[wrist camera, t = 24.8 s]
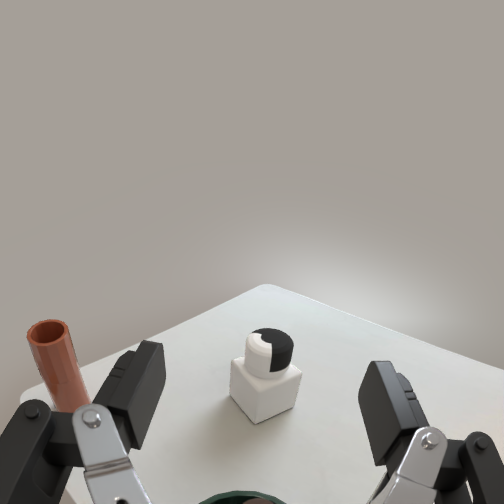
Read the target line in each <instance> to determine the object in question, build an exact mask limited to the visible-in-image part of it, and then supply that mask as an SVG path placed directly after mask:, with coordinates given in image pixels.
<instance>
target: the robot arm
mask: <svg viewBox="0 0 504 504" xmlns="http://www.w3.org/2000/svg"><path fill="white" fill-rule="evenodd" d="M165 380H166V368H165V359H164V350H163V344H162V343H157V342H152V341H146V340H143V341H142V342H141V343H140V345H139V347H138V349H137V350H136V352H135V351H130V350H129V351H127V352H126V353H125V354H123V355H122V356H120V357H119V359H118V360H117V362H116V363H115V365H114V368H112V370H111V372H110V373H109V376H108V377H107V378H106V380H105V382H104V383H103V385H102V387H101V388H100V390H99V392H98V393H97V395H96V397H95V399H94V400H93V402H92V403H91V404H85V405H82V406H80V407H79V408H78V409H76V410H75V412H74V413H67V412H53V411H51V410H50V408H49V406H48V405H47V404H46V403H45V402H43V401H41V400H37V399H32V400H28V401H26V402H24V403H22V404H21V405H20V406H19V408H18V409H17V411H16V412H15V414H14V415H13V417H12V419H11V420H10V422H9V423H8V425H7V426H6V428H5V430H4V431H3V433H2V435H1V436H0V504H59V502H60V499H61V496H62V494H63V491H64V489H65V486H66V483H67V481H68V478H69V476H70V473H71V471H72V468H73V467H85V471H84V478H85V481H86V484H87V487H88V490H89V492H90V495H91V498H92V500H93V503H94V504H152V503H151V501H150V500H149V498H148V496H147V494H146V492H145V490H144V488H143V486H142V484H141V482H140V480H139V478H138V476H137V474H136V472H135V470H134V468H133V466H132V463H131V461H130V459H129V457H128V454H129V451H130V449H131V448H134V449H138V450H140V449H141V447H142V444H143V441H144V439H145V436H146V433H147V430H148V428H149V425H150V422H151V420H152V417H153V415H154V412H155V409H156V407H157V404H158V401H159V399H160V396H161V394H162V391H163V388H164V385H165ZM358 401H359V405H360V409H361V413H362V416H363V420H364V424H365V427H366V431H367V435H368V439H369V442H370V446H371V450H372V454H373V458H374V462H375V466H382V465H386V467H387V471H386V472H385V473H384V475H383V477H382V479H381V480H380V482H379V484H378V486H377V487H376V489H375V491H374V492H373V494H372V496H371V497H370V499H369V500H368V502H367V503H366V504H433V502H435V504H504V465H503V463H502V460H501V458H500V456H499V453H498V451H497V449H496V447H495V444H494V442H493V440H492V439H491V438H490V437H489V436H488V435H487V434H485V433H483V432H473V433H471V434H470V435H469V436H468V437H467V438H466V439H465V441H462V440H451V439H446V436H445V435H444V434H443V433H442V432H441V431H440V430H439V429H437V428H434V427H430V426H429V424H428V421H427V419H426V417H425V415H424V412H423V410H422V408H421V406H420V404H419V401H418V400H417V397H416V395H415V393H414V392H413V389H412V387H411V385H410V382H409V381H408V380H407V379H406V378H405V377H404V376H403V375H402V374H401V373H396V371H395V369H394V367H393V365H392V363H391V362H390V361H371V362H370V364H369V366H368V369H367V371H366V374H365V376H364V379H363V381H362V384H361V386H360V389H359V394H358ZM467 480H468V482H469V485H470V488H471V492H472V495H473V503H472V501H471V498H470V495H469V491H468V488H467V485H466V481H467Z"/></svg>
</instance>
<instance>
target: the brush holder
mask: <svg viewBox="0 0 504 504" xmlns="http://www.w3.org/2000/svg"><path fill="white" fill-rule="evenodd" d="M27 340H28V342H29V345H30V348H31V351H32V354H33V356H34V359H35V362H36V365H37V367H38V370H39V372H40V375H41V376H42V378H43V381H44V383H45V386H46V388H47V390H48V392H49V395H50V397H51V399H52V401H53V403H54V405H55V407H56V409H57V412H67V413H74V412H75V410H76V409H78V408H79V407H80V406H82V405H85V404H91V401H90V398H89V395H88V392H87V390H86V387H85V384H84V381H83V378H82V375H81V372H80V369H79V366H78V361H77V358H76V355H75V351H74V348H73V344H72V340H71V337H70V333H69V329H68V326H67V325H66V324H65V323H64V322H62V321H59V320H51V319H49V320H45V321H40V322H38V323H36V324H35V325H33V326H32V327H31V328H30V329H29V330H28V332H27Z"/></svg>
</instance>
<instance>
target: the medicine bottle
mask: <svg viewBox="0 0 504 504" xmlns="http://www.w3.org/2000/svg"><path fill="white" fill-rule="evenodd" d="M293 346H294V343H293V341H292V339H291V338H290V336H289V335H287V334H286V333H284V332H282V331H280V330H277V329H271V328H263V329H258V330H255V331H254V332H252V333H251V334H249V335H248V337H247V339H246V349H245V356H242V357H239V358H236V359H233V360H232V361H231V373H230V392H229V393H230V395H231V397H232V398H233V399H234V400H235V402H236V403H237V404H238V405H239V406H240V408H241V409H242V410H243V411H244V412H245V414H246V415H247V416H248V417H249V418H250V420H251V421H252V422H253V423H254V424H257V423H259V422H262V421H264V420H266V419H268V418H270V417H273V416H275V415H277V414H279V413H281V412H283V411H285V410H288V409H290V408H292V407H293V406H294V405H295V401H296V397H297V393H298V389H299V385H300V381H301V377H302V372H301V371H300V370H299V369H297V368H296V367H295V366H294V365H293V364H292V363H291V357H292V351H293Z"/></svg>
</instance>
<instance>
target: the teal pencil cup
mask: <svg viewBox="0 0 504 504" xmlns="http://www.w3.org/2000/svg"><path fill="white" fill-rule="evenodd" d="M255 498H261V499H266V500H269V501H270V502H272V503H273V504H286V503H284V502H283V501H281V500H279V499H278V498H276V497H274V496H270V495H267V494H263V493H260V492H256V491H231V492H226V493H222V494H217V495H214V496H212V497H210V498H208V499H206V500H204V501H202V502H200V503H199V504H243V503H244V502H246V501H248V500H250V499H255Z"/></svg>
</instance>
